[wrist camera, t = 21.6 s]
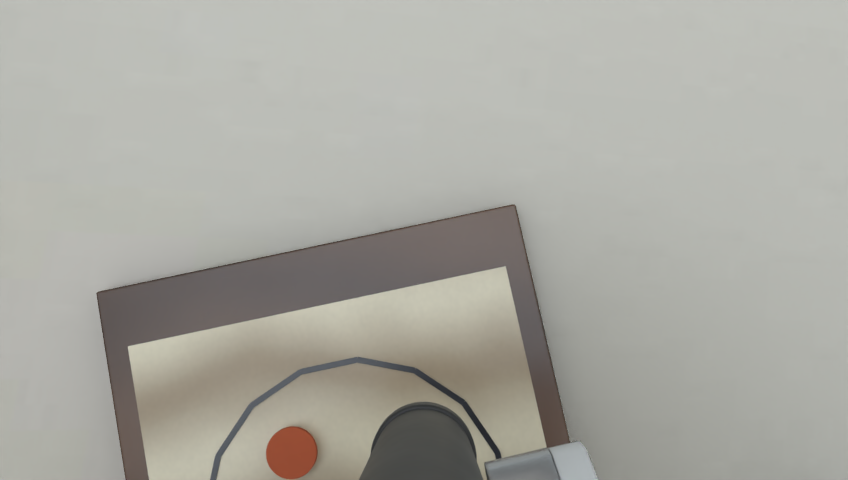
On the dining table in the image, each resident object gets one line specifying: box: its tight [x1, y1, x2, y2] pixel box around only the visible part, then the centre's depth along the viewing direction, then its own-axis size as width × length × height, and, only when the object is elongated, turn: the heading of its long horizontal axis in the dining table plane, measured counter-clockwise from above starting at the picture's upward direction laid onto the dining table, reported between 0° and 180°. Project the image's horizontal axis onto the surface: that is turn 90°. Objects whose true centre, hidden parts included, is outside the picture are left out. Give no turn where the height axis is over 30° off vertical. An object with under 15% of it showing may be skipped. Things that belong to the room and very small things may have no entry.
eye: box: [266, 426, 318, 479], centre depth 27 cm, size 2×2×1 cm
